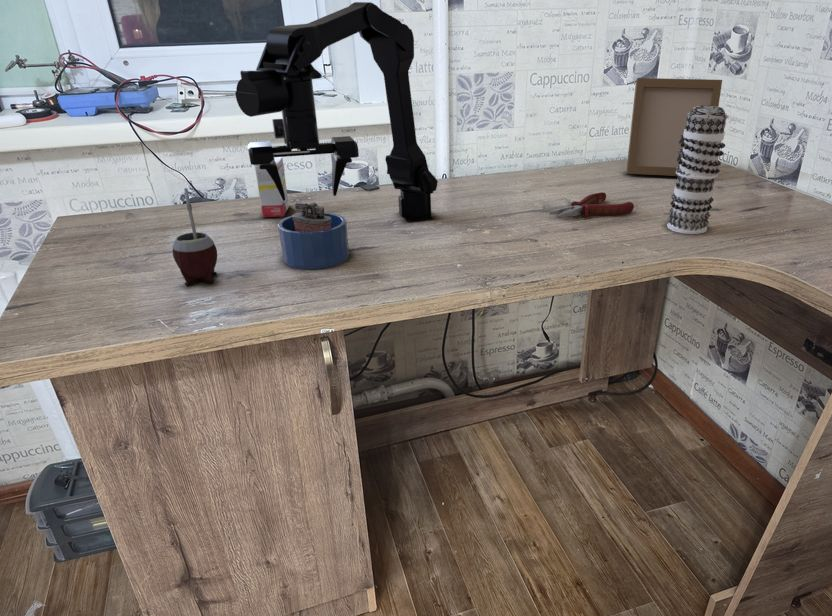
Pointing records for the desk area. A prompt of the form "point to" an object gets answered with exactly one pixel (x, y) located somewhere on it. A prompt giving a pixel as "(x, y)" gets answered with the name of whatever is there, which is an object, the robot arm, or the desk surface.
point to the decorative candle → (697, 169)
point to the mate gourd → (195, 253)
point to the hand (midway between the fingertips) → (309, 197)
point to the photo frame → (664, 120)
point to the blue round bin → (314, 244)
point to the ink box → (272, 191)
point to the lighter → (310, 218)
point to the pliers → (593, 207)
